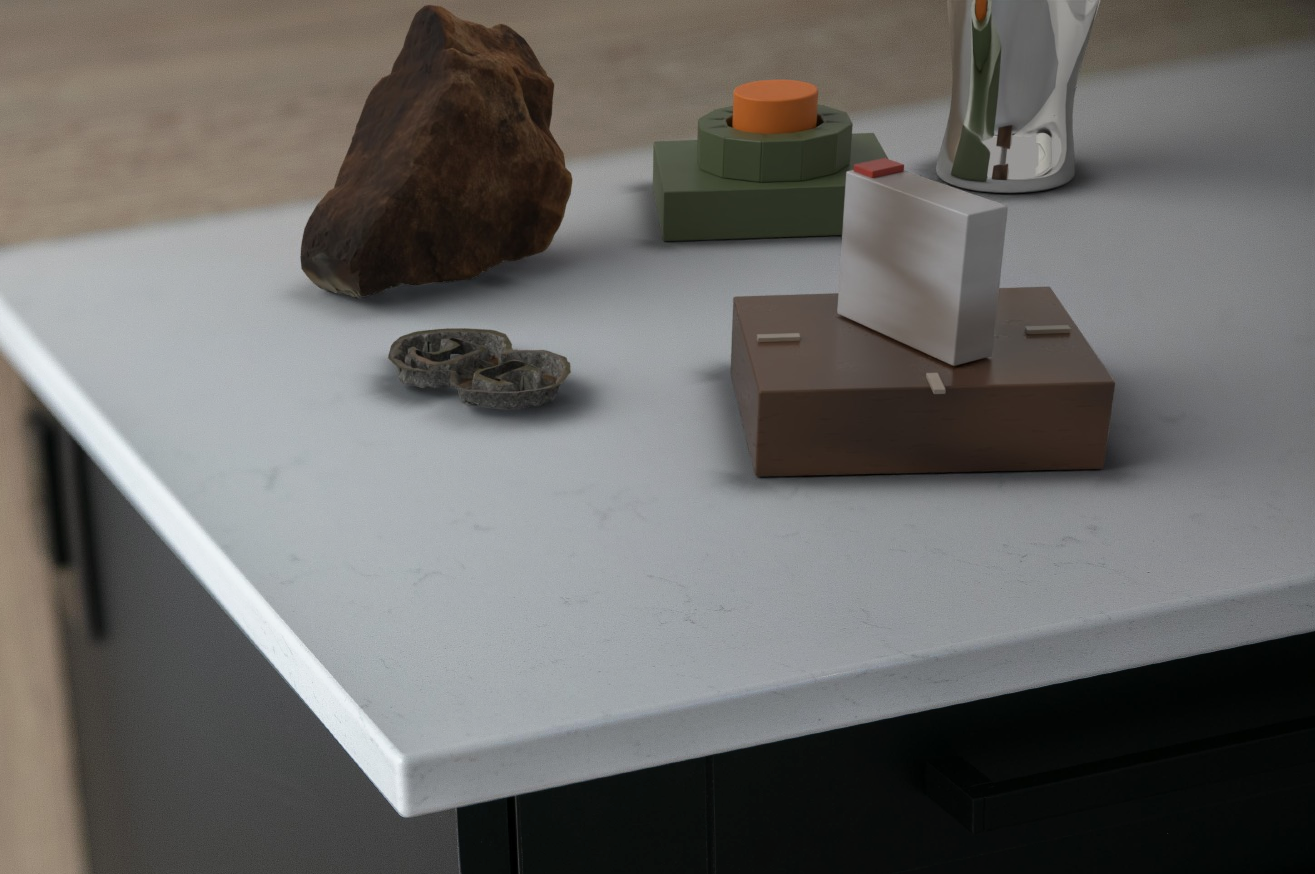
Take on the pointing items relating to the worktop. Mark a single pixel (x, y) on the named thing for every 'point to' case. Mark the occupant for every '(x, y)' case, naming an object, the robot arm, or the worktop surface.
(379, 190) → the decorative rock
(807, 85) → the button
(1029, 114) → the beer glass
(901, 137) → the worktop surface
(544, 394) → the corroded twin loop
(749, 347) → the block
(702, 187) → the button box
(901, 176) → the tap handle
